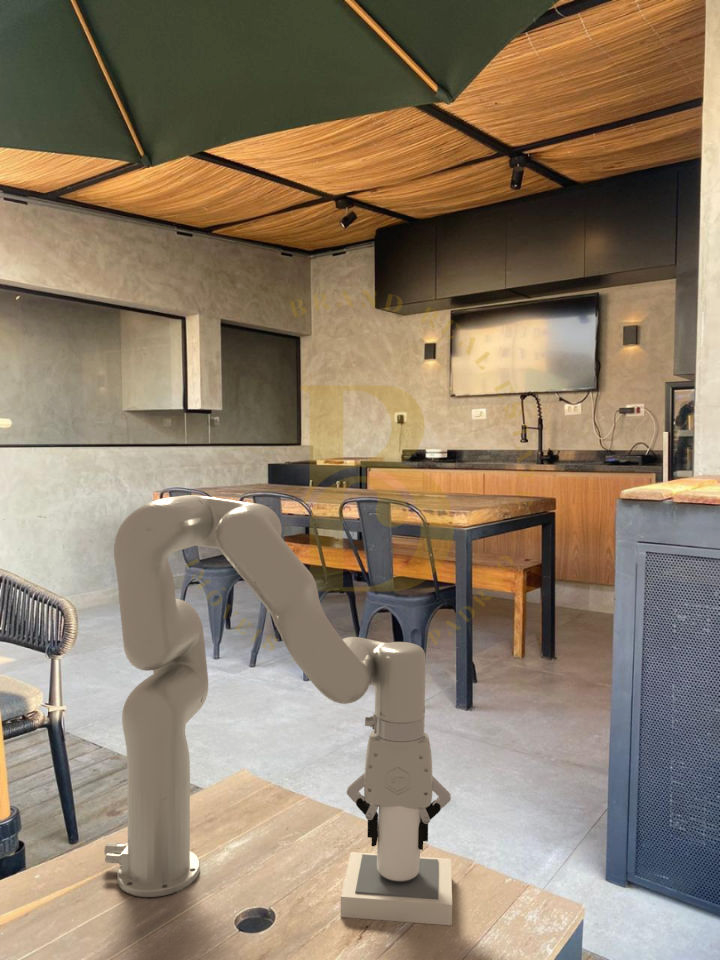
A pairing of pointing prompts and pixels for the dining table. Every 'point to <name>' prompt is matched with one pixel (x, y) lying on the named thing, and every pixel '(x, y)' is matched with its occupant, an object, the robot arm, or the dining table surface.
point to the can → (398, 843)
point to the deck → (398, 892)
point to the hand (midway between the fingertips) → (397, 842)
